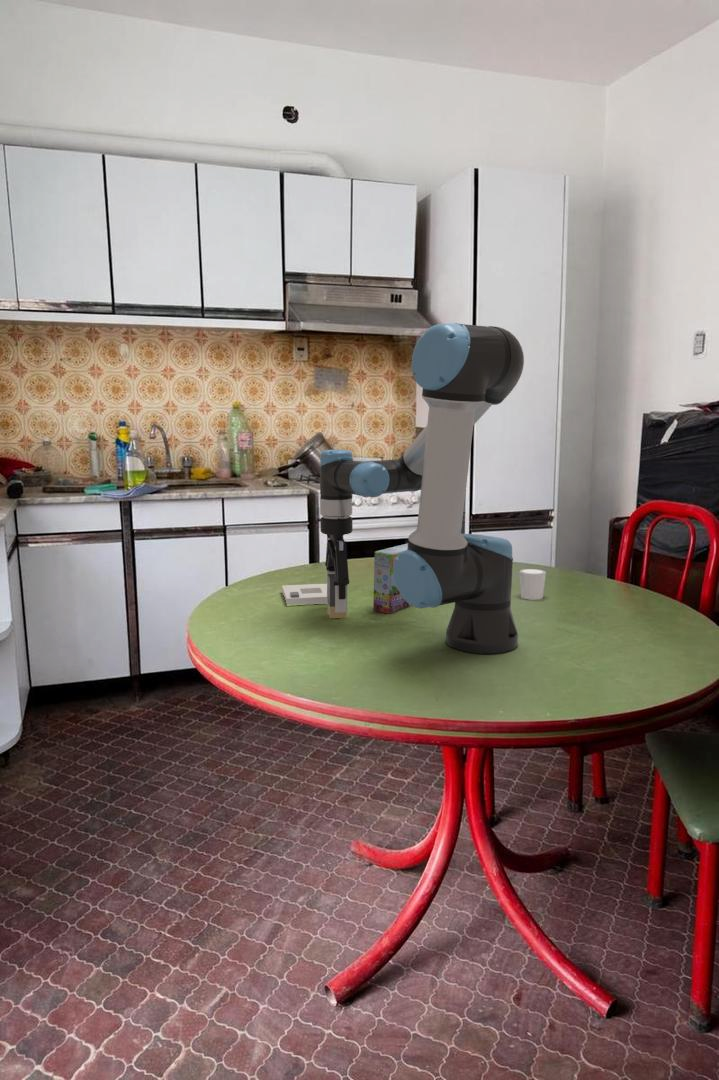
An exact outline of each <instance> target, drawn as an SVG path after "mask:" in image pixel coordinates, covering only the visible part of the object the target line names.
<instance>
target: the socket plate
mask: <svg viewBox="0 0 719 1080" xmlns="http://www.w3.org/2000/svg"><path fill="white" fill-rule="evenodd" d="M282 592H283V594H282V596H283V595H284V597H285V600H286V602H285V604H286V603H287V604H326V605H328V604H327V603H328V599H327V583H313V584H312V583H311V584H310V583H307V584H290V585H289V584H288V585H281V593H282ZM284 597H283V598H284ZM285 600H284V601H285Z"/></svg>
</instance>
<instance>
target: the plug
mask: <svg viewBox="0 0 719 1080" xmlns="http://www.w3.org/2000/svg"><path fill="white" fill-rule="evenodd" d="M334 582H336V576H335V574H327V573H326V584H327V599H328V604H327V616H328V615H329V616H328V618H329V617H330V618H340V619H347V618H348V616H347V615H348V611H347V612H341V613H336V612H335V586H333V583H334ZM330 618H329V619H330Z"/></svg>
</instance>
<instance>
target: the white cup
mask: <svg viewBox="0 0 719 1080" xmlns="http://www.w3.org/2000/svg"><path fill="white" fill-rule="evenodd" d="M546 575H547V572H546V571H545V570H544V569H536V568H523V569H520V570H519V585H520V586H519V587H520V598H521V599H524V600H530V601H538V600H539V601H540V600H542V599H543V598H544V590H545V583H546Z"/></svg>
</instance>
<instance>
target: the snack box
mask: <svg viewBox="0 0 719 1080" xmlns="http://www.w3.org/2000/svg"><path fill="white" fill-rule="evenodd" d="M407 548H408V542H407V543H405V544H401V545H395V546H393V547H387V548H384V549H380V550H376V551H374V562H373V564H374V566H373V567H374V569H373V602H372V603H373V605H372V607H373V608H372V610H373V611H375V612H379V613H384V614H388V615H389V614H392V613H395V612H397V611H400V610H403V609H406V608H409V607H411V605H410V604H408V603H407V602H406V601H405V600H404V599H403V597H402V596H401V595H400V592H399V590H398V589H397V587H396V584H395V581H394V576H393V565H394V561H395V558H396V557H397V556H398V555H399V554H400V553H401V552H402V551H405V550H407Z"/></svg>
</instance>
